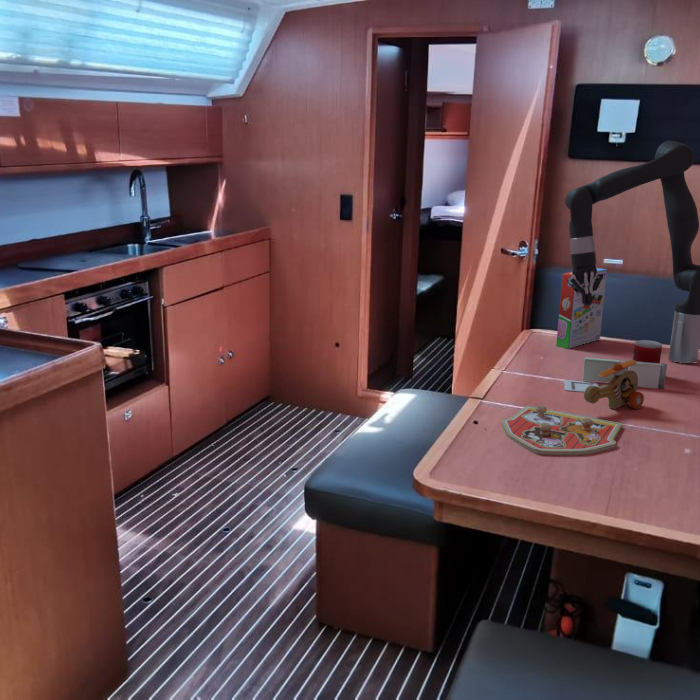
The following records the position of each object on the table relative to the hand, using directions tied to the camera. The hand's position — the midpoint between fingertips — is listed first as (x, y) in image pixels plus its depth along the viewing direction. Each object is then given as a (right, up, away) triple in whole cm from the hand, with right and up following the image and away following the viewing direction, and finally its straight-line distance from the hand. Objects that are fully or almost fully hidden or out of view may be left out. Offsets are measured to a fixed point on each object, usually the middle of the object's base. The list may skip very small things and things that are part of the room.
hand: (587, 305), depth 237 cm
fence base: (+13, -26, -12) cm, 31 cm away
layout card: (-6, -26, -13) cm, 29 cm away
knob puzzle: (-24, -37, -50) cm, 66 cm away
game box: (+8, -12, +37) cm, 40 cm away
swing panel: (+1, -24, -9) cm, 26 cm away
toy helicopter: (-3, -31, -31) cm, 44 cm away
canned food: (+18, -23, -1) cm, 29 cm away
